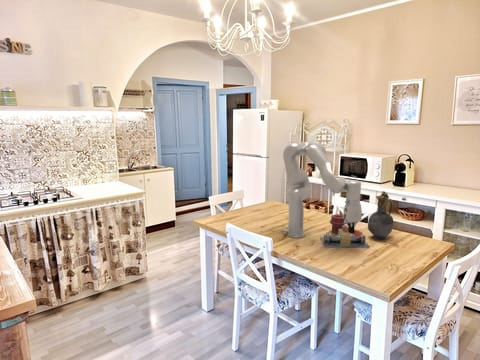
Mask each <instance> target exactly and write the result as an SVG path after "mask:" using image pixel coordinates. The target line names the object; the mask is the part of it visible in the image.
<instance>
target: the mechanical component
mask: <svg viewBox="0 0 480 360" xmlns="http://www.w3.org/2000/svg"><path fill="white" fill-rule="evenodd" d="M329 224H331V231H332V233H334V234H335V235H338V231H339V229H342V226H343V225H346V224H344V220H343V214H342V215H341V214H338V213H336V214H332V215H331V218H330V220H329Z"/></svg>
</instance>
